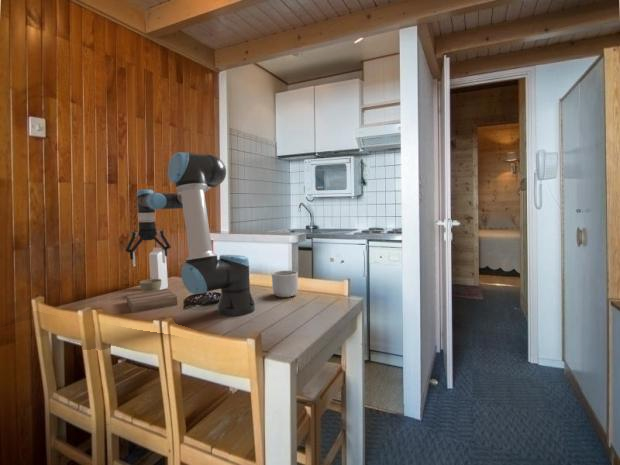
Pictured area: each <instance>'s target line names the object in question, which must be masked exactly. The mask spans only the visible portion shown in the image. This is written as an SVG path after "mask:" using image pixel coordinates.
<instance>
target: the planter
mask: <svg viewBox="0 0 620 465" xmlns="http://www.w3.org/2000/svg"><path fill="white" fill-rule="evenodd" d="M298 274H299V273H298V271H296V270H278V271H277V270H276V271H273V272H272V273H271V282H272V292H273V294H274V295H275V296H276V297H278V298H292V297H294V296H295V295H297V293H298V285H299V277H298V276H299V275H298ZM291 296H292V297H291Z"/></svg>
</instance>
